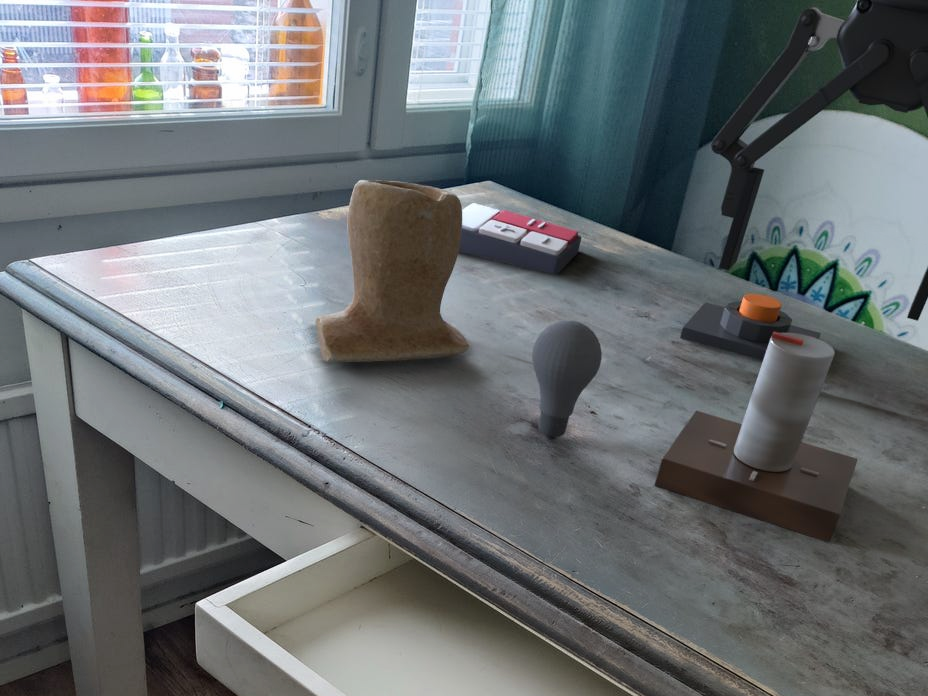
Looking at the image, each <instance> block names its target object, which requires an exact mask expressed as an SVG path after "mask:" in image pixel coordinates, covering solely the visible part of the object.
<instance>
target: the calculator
mask: <svg viewBox="0 0 928 696" xmlns="http://www.w3.org/2000/svg"><path fill="white" fill-rule="evenodd" d="M581 242H582V236H581V235H579V231H578V230H575V229H572V228H568V227H566V226H565V227H564V226H561V225H558V224H554V223H552V222H547V221H544V220H540V219H538V218H533V217H530V216H527V215H523V214H520V213H516V212H513V211H510V210H509V211H508V210H502V211H500V210H499V209H497V208H493V207H489V206H485V205H482V204H478V203H471V204H469V205H467V206H466V207H465V208H462V231H461V241H460V248H459V252H458V253H462V254H467V255H471V256H475V257H480V258H484V259H488V260H492V261H496V262H501V263H505V264H510V265H514V266H518V267H522V268H526V269H530V270H533V271H534V270H536V271H538V272H543V273H548V274H551V275H558V274H559V273H560V272H561V271H562V270H563V269H564V268H565V267H566V266H567V265H568V264H569V263H570V262H571V260H572V259H574V257H575V256H576V255H577V254H578V253H579V251H580V246H581Z"/></svg>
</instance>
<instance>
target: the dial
mask: <svg viewBox="0 0 928 696" xmlns="http://www.w3.org/2000/svg"><path fill="white" fill-rule="evenodd" d="M835 354H836V352H835V349H834V348H833V346H831V345H830V344H828V343H827V342H825V341H823V340H821V339H820V338H819V339H816V338H813V337H810V336H807V335H802V334H797V333H778V332H773V334H772V337H771V338H770V341H769V344H768V347H767V350H766V353H765V356H764V359H763V361H761V362H762V363H761V366H760V369H759V372H758V375H757V378H756V381H755V384H754V387H753V389H752V393H751V396H750V399H749V401H748V404H747V407H746V411H745V414H744V416H743V420H742V423H741V424H742V426H741V429H740V432H739V435H738V438H737V441H736V444H735V447H734V454H735V456H736V457H737V458H738V459H739V460H740V461H742V462H743V463H745V464H747V465H749V466H751V467H753V468H756V469H760V470H764V471H770V472H782V471H786V470H789V469H790V468H791V467H792V466H793V463H794V461H795V458H796V455H797V453H798V450H799V447H800V445H801V442H803V439H804V436H805V434H806V432H807V428H808V426H809V423H810V421H811V418H812V416H813V413H814V410H815V408H816V404H817V402H818V400H819V397H820V394H821V392H822V388H823V386H824V384H825V380H826V379H827V375H828V373H829V370H830V368H831V365H832V362H833V361H834V360H833V359H834V356H835Z"/></svg>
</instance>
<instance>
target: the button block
mask: <svg viewBox="0 0 928 696" xmlns="http://www.w3.org/2000/svg"><path fill="white" fill-rule="evenodd" d="M741 303H742V300H739V301H732V302H728V303H727V304H726V305H725V306H721V305H718V304H715V303H710V302H707V301H705V302H704V303H703V304H702V305H701V306H700V308H699V309H697V311H696V312H695V313H694V314H693V315H692V316H691V318H690V319H688V321H687V322H686V323H685V324H684V325H683V326H682V329H681V333H680V335H679V339H682V340H685V341H688V342H689V341H690V342H693V343H697V344H700V345H702V346H703V345H704V346H706V347H707V346H708V347H711V348H714V349H718V350H721V351H725V352H729V353H732V354H735V355H740V356H743V357H747V358H750V359H754V360H757V361H761V362H763V359H764V356H765V353H766V350H767V347H768V344H769V341H770V338H771V337H772V334H773V332H778V333H797V334H802V335H807V336H810V337H813V338H816V339H819V340H820V338H821V335H822V333H821V332H819V331H814V330H811V329H807V328H804V327H800V326H796V325H792V323H793V319H792V318H791V317H790V316H789V315H788V314H787V312H785V311H783V310H780V312H779V315H778V318H777V321H776V322H765V321H758V320H754V319H750V318H748V317H746V316H743V315H741V314H740V313H739V310H740V306H741Z"/></svg>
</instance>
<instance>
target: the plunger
mask: <svg viewBox="0 0 928 696" xmlns="http://www.w3.org/2000/svg"><path fill="white" fill-rule="evenodd" d="M741 301H742V303H741V306H740V310H739V313H740V314H741V315H743V316H746V317H748V318H750V319H754V320H758V321H765V322H776V321H777V318H778V315H779V312H780V311H781V309H782V302H781V301H779V300H778V299H776V298H774V297H771V296H768V295H765V294H758V293H748V294H745V295H743V297H742V300H741Z"/></svg>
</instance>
